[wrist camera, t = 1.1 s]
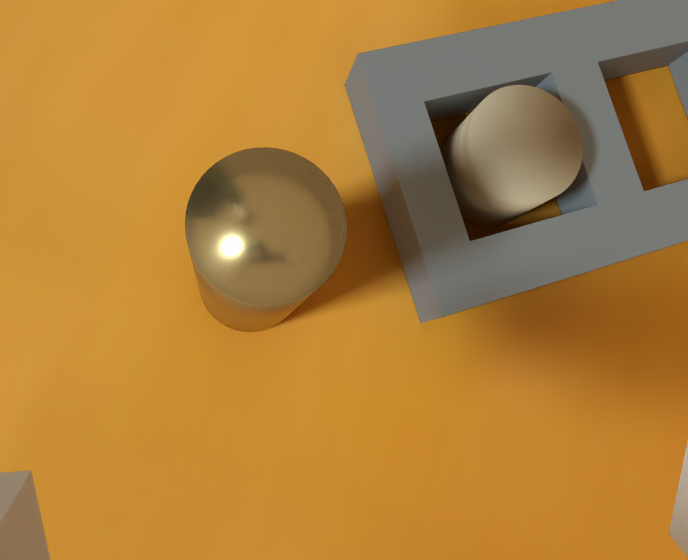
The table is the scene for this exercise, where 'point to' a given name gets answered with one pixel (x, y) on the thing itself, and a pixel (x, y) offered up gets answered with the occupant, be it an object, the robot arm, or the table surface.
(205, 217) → the brass cylinder
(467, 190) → the wooden plug
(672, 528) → the robot arm
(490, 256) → the jig plate
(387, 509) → the table surface
